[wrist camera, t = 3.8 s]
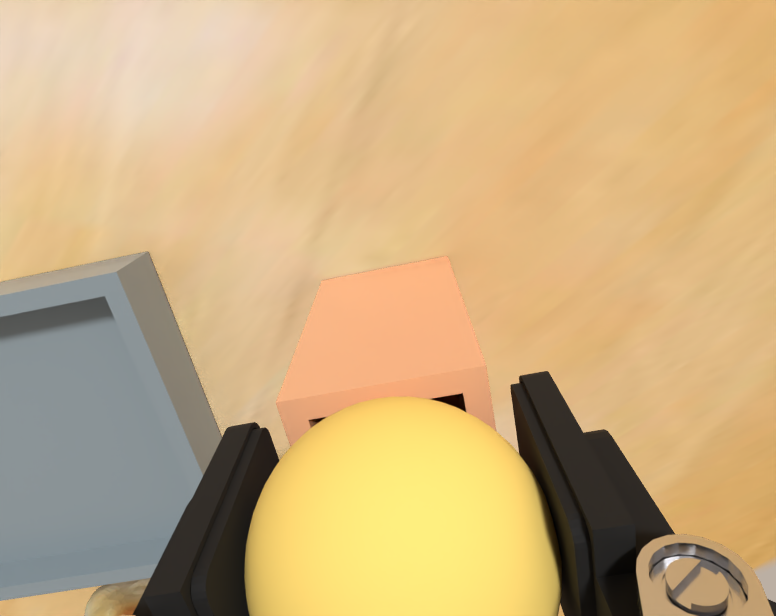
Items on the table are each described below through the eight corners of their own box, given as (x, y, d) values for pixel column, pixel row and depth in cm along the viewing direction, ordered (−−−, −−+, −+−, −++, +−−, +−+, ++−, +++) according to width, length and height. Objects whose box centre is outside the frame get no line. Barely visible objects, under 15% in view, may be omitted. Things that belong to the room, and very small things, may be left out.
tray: (148, 251, 16) (116, 271, 14) (254, 520, 20) (240, 564, 18) (-251, 333, 17) (-329, 362, 15) (-74, 572, 21) (-118, 618, 19)
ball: (504, 324, 10) (608, 532, 5) (531, 525, 12) (625, 811, 7) (249, 371, 10) (129, 604, 5) (314, 557, 12) (266, 848, 7)
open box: (447, 255, 16) (486, 364, 9) (466, 368, 17) (511, 529, 11) (321, 280, 16) (275, 402, 10) (350, 388, 18) (327, 556, 11)
